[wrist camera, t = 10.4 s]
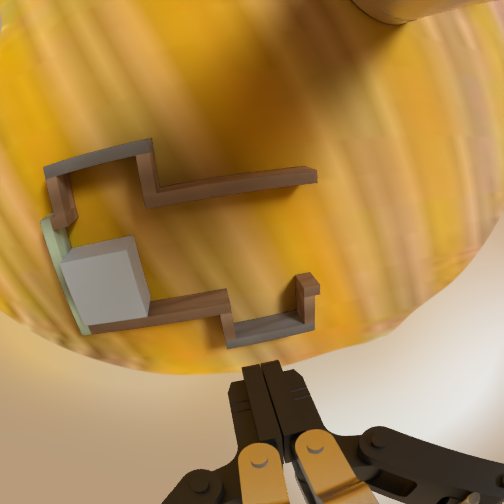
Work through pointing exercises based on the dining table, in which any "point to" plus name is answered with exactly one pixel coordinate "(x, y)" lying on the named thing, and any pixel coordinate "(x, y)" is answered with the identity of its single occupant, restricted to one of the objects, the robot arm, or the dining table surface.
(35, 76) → the dining table surface
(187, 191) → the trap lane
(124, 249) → the block
